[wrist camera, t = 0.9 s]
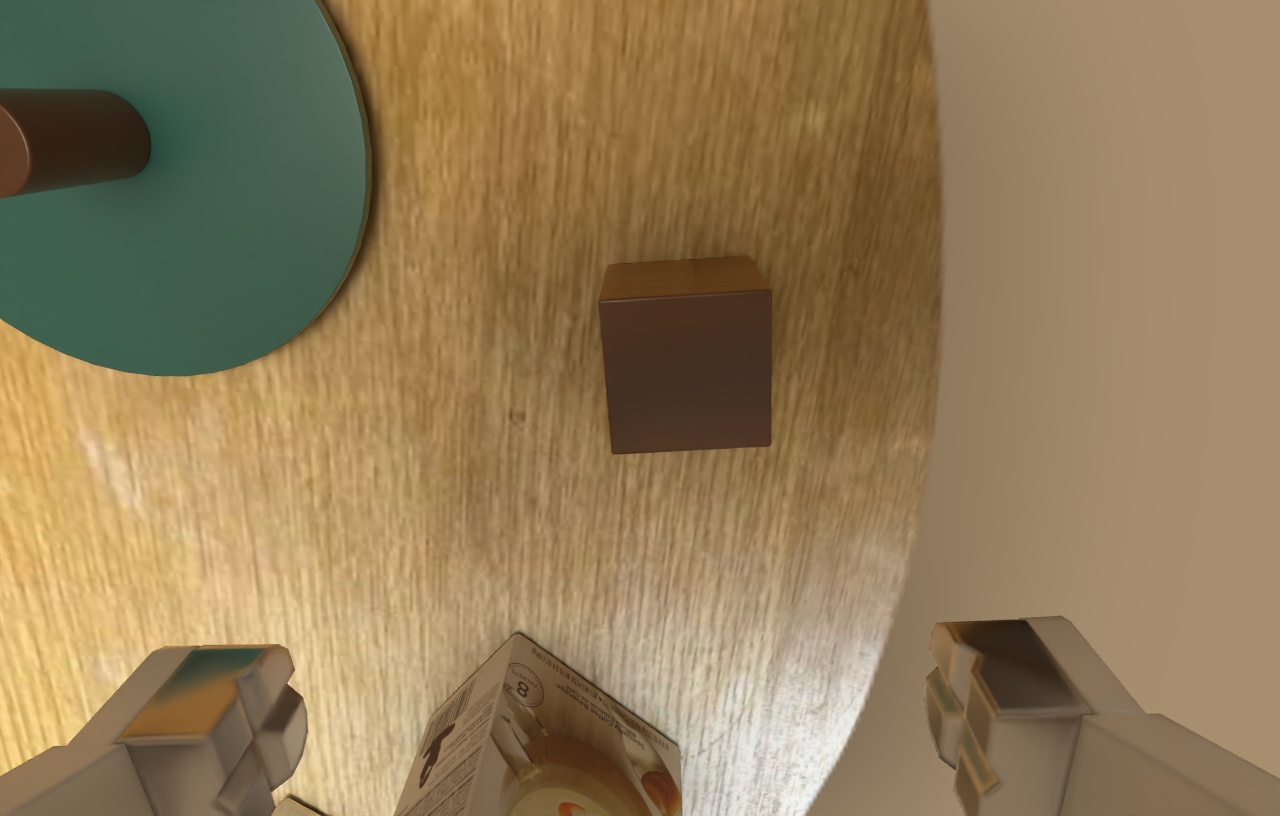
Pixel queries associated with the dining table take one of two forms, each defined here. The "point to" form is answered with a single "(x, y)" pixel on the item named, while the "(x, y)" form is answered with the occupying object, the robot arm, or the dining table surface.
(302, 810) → the white packaging box
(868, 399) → the dining table surface
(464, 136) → the dining table surface
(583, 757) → the coffee box
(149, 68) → the tin lid
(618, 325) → the block
